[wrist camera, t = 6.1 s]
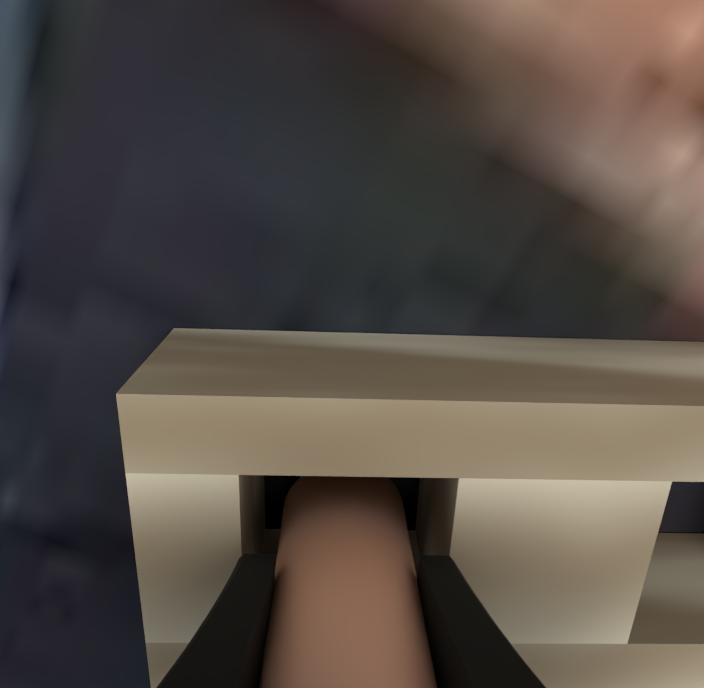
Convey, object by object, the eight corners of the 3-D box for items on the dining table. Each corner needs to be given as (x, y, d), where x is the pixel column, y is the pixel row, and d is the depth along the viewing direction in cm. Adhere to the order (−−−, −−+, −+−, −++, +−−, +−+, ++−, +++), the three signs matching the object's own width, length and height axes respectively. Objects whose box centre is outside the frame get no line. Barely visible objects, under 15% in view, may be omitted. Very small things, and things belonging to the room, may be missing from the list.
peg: (397, 562, 14) (488, 1177, 6) (281, 558, 14) (204, 1187, 6) (409, 464, 13) (542, 1042, 5) (284, 459, 13) (193, 1047, 5)
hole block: (757, 578, 18) (873, 696, 14) (193, 574, 17) (152, 698, 13) (843, 345, 15) (1015, 412, 11) (174, 328, 14) (116, 393, 10)
